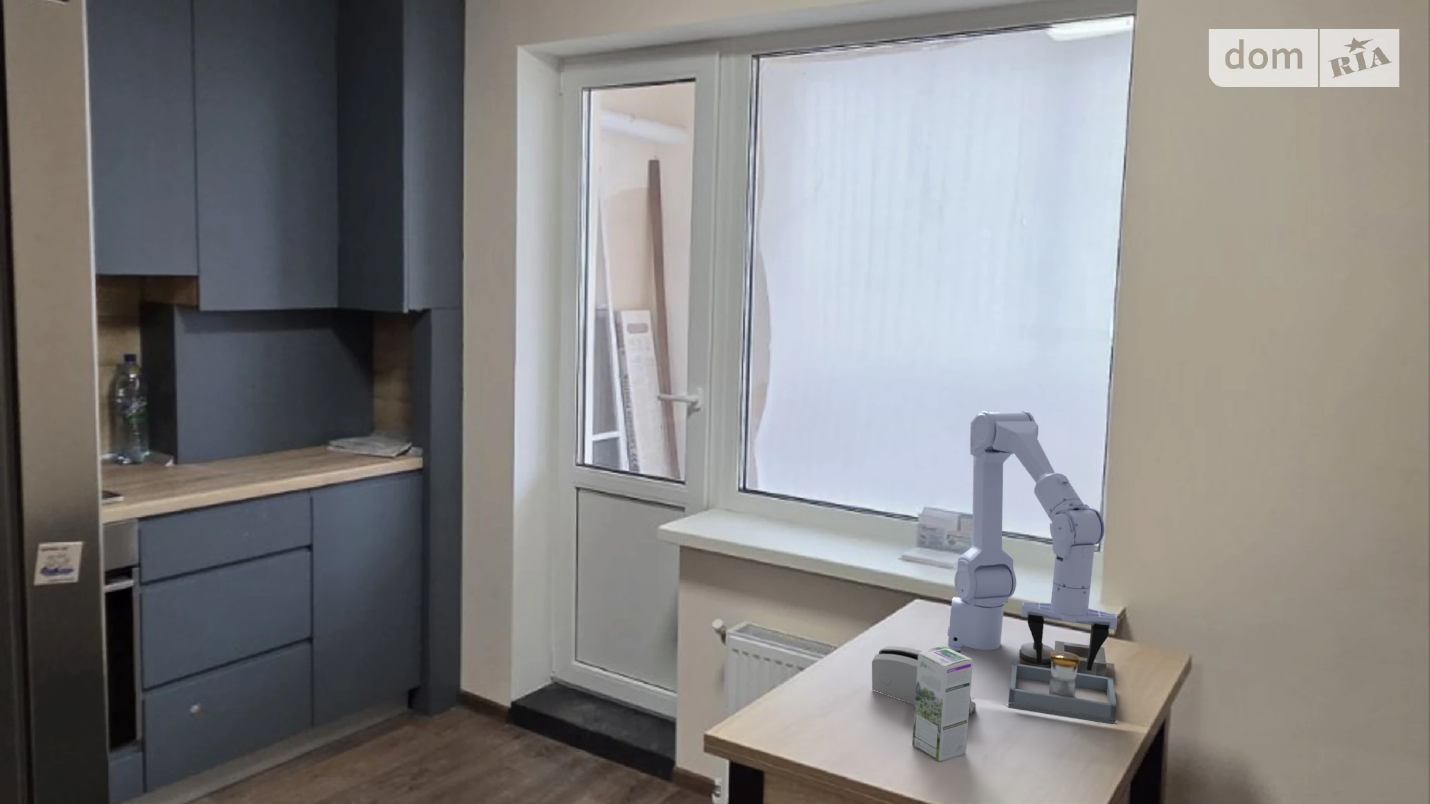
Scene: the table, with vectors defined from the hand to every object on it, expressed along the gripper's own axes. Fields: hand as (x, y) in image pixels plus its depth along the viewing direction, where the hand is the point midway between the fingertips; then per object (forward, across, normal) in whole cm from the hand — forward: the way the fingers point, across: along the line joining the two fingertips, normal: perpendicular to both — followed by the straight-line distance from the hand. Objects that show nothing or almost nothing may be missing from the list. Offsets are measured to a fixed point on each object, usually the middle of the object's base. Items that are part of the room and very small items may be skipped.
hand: (1063, 664), depth 175 cm
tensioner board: (+6, +1, +14) cm, 15 cm away
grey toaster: (+7, -22, -10) cm, 25 cm away
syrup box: (+6, -17, -26) cm, 31 cm away
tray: (+6, 0, 0) cm, 6 cm away
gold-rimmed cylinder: (+6, 0, 0) cm, 6 cm away
